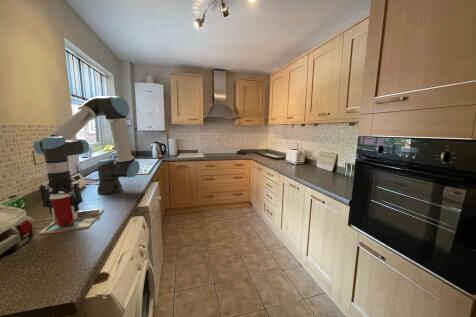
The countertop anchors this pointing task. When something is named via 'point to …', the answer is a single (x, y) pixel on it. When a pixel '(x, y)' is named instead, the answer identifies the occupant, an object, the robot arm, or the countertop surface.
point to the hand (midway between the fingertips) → (66, 219)
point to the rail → (88, 213)
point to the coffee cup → (62, 208)
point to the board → (78, 224)
